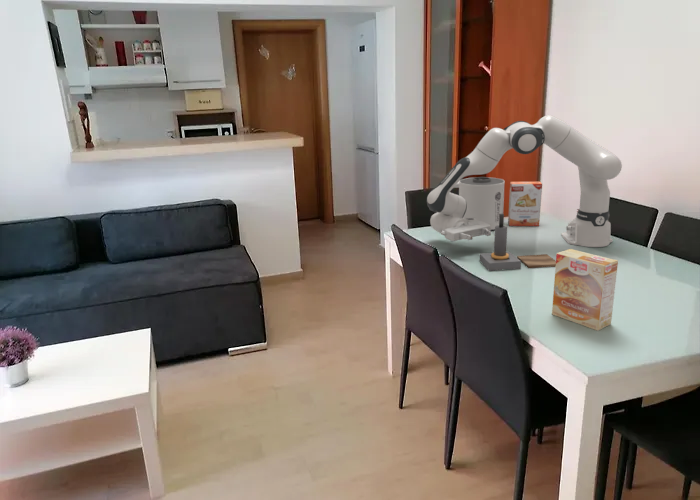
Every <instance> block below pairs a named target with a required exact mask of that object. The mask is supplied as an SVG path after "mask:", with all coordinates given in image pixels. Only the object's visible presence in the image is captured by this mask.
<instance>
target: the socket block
mask: <svg viewBox="0 0 700 500" xmlns="http://www.w3.org/2000/svg"><path fill="white" fill-rule="evenodd" d="M492 253H493V252H483V253H482V252H481V253H479V262H480V261H481V262H482V263H483V264H482V263H481V262H480V263H481V264H482V265H483V266H484V267H485V268H486V269H487V270H488V272H490V271H494V270H496V271H503V270H502V269H511V270H521V268H522V266H521V265H522V262H521V261H520V260H519V259H518V258H517V256H515V254H513V253H512V252H511V251H506V253H508V254H509V258H507V259H506V260H494V258H492V257H491V254H492Z"/></svg>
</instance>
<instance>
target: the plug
mask: <svg viewBox="0 0 700 500" xmlns="http://www.w3.org/2000/svg"><path fill="white" fill-rule="evenodd" d="M504 217H505V214H504V213H503V214H499V226H495V230H494V241H493V243H494V244H493V252H491V253H492V254H491V257H492V258H494V260H506V259H507V258H509V254H508V253H506V252H507V248H508V247H507V243H508V241H507V240H508V226H507V225H504V224H505V223H504V221H505V218H504Z"/></svg>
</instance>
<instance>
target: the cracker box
mask: <svg viewBox="0 0 700 500" xmlns="http://www.w3.org/2000/svg"><path fill="white" fill-rule="evenodd" d="M509 184H510V185H509V200H508V201H509V202H508V215H507V216H508V217H507V223H508V226H509V227H539V226H540V219H541V206H542V194H543V191H542V190H543V183H542V182H541V181H510V183H509Z"/></svg>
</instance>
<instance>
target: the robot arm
mask: <svg viewBox="0 0 700 500" xmlns="http://www.w3.org/2000/svg"><path fill="white" fill-rule="evenodd" d="M543 145H546V146H547V147H548V148H550V149H551V150H553V151H554V152H555V153H557V154H558V155H560V156H562V157H563V158H564V159H565V160H567V161H569V162H570V163H572V164H574V165H575V166H577V168H578V177H579V184H580V185H579V186H580V194H579V196H580V198H579V208H577V209H576V216H575V218H574V219H572V220H570V221H569V222H568V224H567V225H566V227H565V230H566V231H563V232H561V233H560V236H561V237H562V238H563V239H564V240H565V241H566V242H567V244H568V245H572V246H573V245H574V246H575V245H576V246H582V247H589V248H602V247H608V246H609V245H610V243H613V242H614V241H613V238H611V233H612V232H611V229H612V227H611V226H612V225H611V222H610V221H609V219H610V210H609V206H610V198H611V190H610V188H609V185H608V180H612V179H615V178H616V177H617V176H619V175H620V173H621V171H622V167H623V164H622V160H621V159H620V158H619V157H618V156H617V155H615V154H614V153H613V152H611V151H610V150H608V149H606V148H605V147H603V146H602V145H600V144H599V143H597V142H595V141H594V140H592V139H590V138H588V137H587V136H585V135H584V134H583V133H581V132H580V131H579V130H577V128H574V127H573V126H572V125H570V124H569V123H567V121H566V122H565V121H564V120H562V119H560V118H558V117H556V116H553V115H551V114H548V115H544V116H543V117H541V118H539V119H538V121H537V122H536V123H534V124H530V123H529V122H527V121H524V120H517V121H514V122H512V123H511V124H509V125H507V126H506V127H504V128H503V129H502V128H500V127H492V128H491V129H489V131H487V132H486V133H485V135H484V136H483V137H482V138H481V139H480V141H478V143H477V145H476V146H475V148H474V149H473V151H471V152H470V153H469V154H468V155H467V156H465V157H463V158H461V159H459V160H458V161H457V162H456V163H455V165H453V167H452V168H451V169H450V170H449V171H448V172H447V174H445V176H444V177H443V178H442V180H440V182H438V184H436V186H435V187H434V188H432V189H431V190H430V191H429V193H428V194H427V196H426V204H427V205H426V206H427V207H428V208H429V211H432V212H434V214H432V215H431V216H430V220H429V222H430V226H431V228H432V229H433V230H434V231H435V232H437V233H439V234H440V235H442V236H444V238H445V239H446V240H448V241H451V242H456V241H457V242H458V241H461V240H467V241H471V240H473V238H475V237H480V236H487V237H489V236H492V232H491V226H490V225H489V224H487V223H485V222H481V221H477V219H475V218H467V219H465V218H463V217H464V215H465V213H466V209H467V203H466V200H465V198H464V197H461V196H459V194H456V193H453V192H451V191H452V190H453V189H454V188H453V187H454V186H455V185H456V184H457V183H458V182H459V181H460V180H462V179H464V178H465V177H468V176H473V175H475V176H476V175H478V176H479V175H481V176H482V175H486V174H489V173H490V172H492V171H493V170H494V169H495V168H496V166H497V165H498V164H499V162H500V160H501V159H502V157H503V156H504V155H505V154H506V152H507V151H509V150H512V149H513V150H514V151H515V152H517V154H521V155H529V154H532V153H534V152H535V151H536V150H537V149H538V148H540V147H541V146H543Z"/></svg>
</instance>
